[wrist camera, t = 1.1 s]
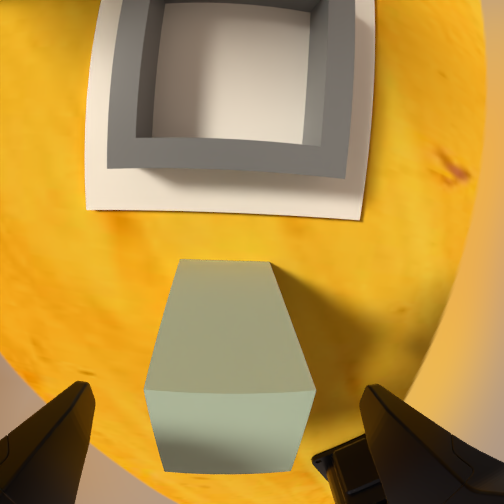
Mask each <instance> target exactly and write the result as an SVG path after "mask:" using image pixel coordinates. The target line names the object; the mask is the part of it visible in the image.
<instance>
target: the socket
mask: <svg viewBox="0 0 504 504" xmlns="http://www.w3.org/2000/svg"><path fill="white" fill-rule="evenodd" d="M374 66H375V4H374V0H101V4H100V9H99V13H98V19H97V24H96V30H95V35H94V42H93V48H92V56H91V63H90V72H89V81H88V93H87V106H86V125H85V192H86V210H162V211H201V212H229V213H252V214H272V215H291V216H308V217H323V218H338V219H351V220H360V215H361V208H362V201H363V194H364V187H365V179H366V171H367V162H368V153H369V143H370V132H371V120H372V107H373V90H374Z"/></svg>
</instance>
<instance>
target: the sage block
mask: <svg viewBox="0 0 504 504" xmlns="http://www.w3.org/2000/svg"><path fill="white" fill-rule="evenodd" d="M144 393H145V398H146V402H147V407H148V411H149V415H150V420H151V424H152V428H153V432H154V436H155V439H156V443H157V447H158V450H159V454H160V458H161V461H162V464H163V468H164V471H165V472H178V473H195V474H254V473H272V472H284V471H291V469H292V466H293V463H294V460H295V457H296V454H297V451H298V448H299V445H300V442H301V439H302V436H303V433H304V430H305V427H306V423H307V420H308V417H309V414H310V410H311V407H312V404H313V400H314V397H315V393H316V388H315V385H314V383H313V380H312V377H311V374H310V371H309V369H308V366H307V363H306V360H305V358H304V355H303V352H302V349H301V346H300V344H299V341H298V338H297V335H296V333H295V330H294V327H293V324H292V322H291V319H290V316H289V314H288V311H287V308H286V305H285V303H284V300H283V297H282V294H281V292H280V289H279V286H278V284H277V281H276V278H275V276H274V273H273V270H272V267H271V265H270V262H256V261H223V260H192V259H180V261H179V264H178V267H177V271H176V274H175V277H174V280H173V284H172V287H171V290H170V294H169V297H168V300H167V304H166V307H165V311H164V314H163V318H162V321H161V325H160V329H159V332H158V336H157V340H156V343H155V347H154V351H153V355H152V358H151V362H150V366H149V370H148V374H147V378H146V382H145V386H144Z"/></svg>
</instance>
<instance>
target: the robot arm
mask: <svg viewBox="0 0 504 504" xmlns="http://www.w3.org/2000/svg"><path fill="white" fill-rule="evenodd" d="M359 406H360V411H361V416H362V420H363V424H364V429H365V433H366V434H365V435H363V436H361V437H359V438H357V439H354V440H352V441H350V442H348V443H345V444H343V445H341V446H338V447H336V448H334V449H331V450H329V451H326V452H324V453H321V454H319V455H316V456H314V457H312V459H311V460H312V464H313V465H314V466H315V467H316V469H317V470H318V471H319V472H320V473H321V474H322V475H323V476H324V478H325V479H326V480H327V481H328V482H329V485H330V488H331V491H332V495H333V498H334V501H335V504H504V463H503V462H501V461H499V460H497V459H495V458H493V457H491V456H489V455H487V454H485V453H483V452H481V451H479V450H477V449H475V448H474V447H472V446H470V445H468V444H467V443H465V442H463V441H462V440H460V439H459V438H457V437H456V436H454V435H451V433H449V432H448V431H446V430H445V429H443V428H442V427H440V426H439V425H437V424H436V423H435V422H433V421H431V420H430V419H428V418H427V417H426V416H424V415H423V414H421V413H420V412H418V411H417V410H415V409H414V408H412V407H411V406H409V405H408V404H407V403H405V402H404V401H402V400H401V399H399V398H398V397H396V396H395V395H394V394H392V393H391V392H389V391H388V390H386V389H385V388H384V387H382V386H381V385H379V384H373V385H368V386H366V388H365V390H364V393H363V395H362V398H361V400H360V405H359ZM94 410H95V398H94V395H93V392H92V390H91V387H90V384H89V383H87V382H83V381H76V382H75V383H73V384H72V385H71V386H69V387H68V388H67V389H66V390H64V391H63V392H62V393H60V394H59V395H58V396H56V397H55V398H54V399H53V400H51V401H50V402H49V403H47V404H46V405H45V406H44V407H42V408H41V409H40V410H39V411H37V412H36V413H35V414H33V415H32V416H31V417H29V418H28V419H27V420H26V421H24V422H23V423H22V424H20V425H19V426H18V427H17V428H15V429H14V430H13V431H11V432H10V433H9V434H8V436H7V435H6V436H5V437H4V438H2V439H1V440H0V504H75V500H76V495H77V490H78V486H79V482H80V478H81V473H82V470H83V465H84V462H85V458H86V454H87V450H88V446H89V441H90V435H91V428H92V422H93V416H94Z"/></svg>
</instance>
